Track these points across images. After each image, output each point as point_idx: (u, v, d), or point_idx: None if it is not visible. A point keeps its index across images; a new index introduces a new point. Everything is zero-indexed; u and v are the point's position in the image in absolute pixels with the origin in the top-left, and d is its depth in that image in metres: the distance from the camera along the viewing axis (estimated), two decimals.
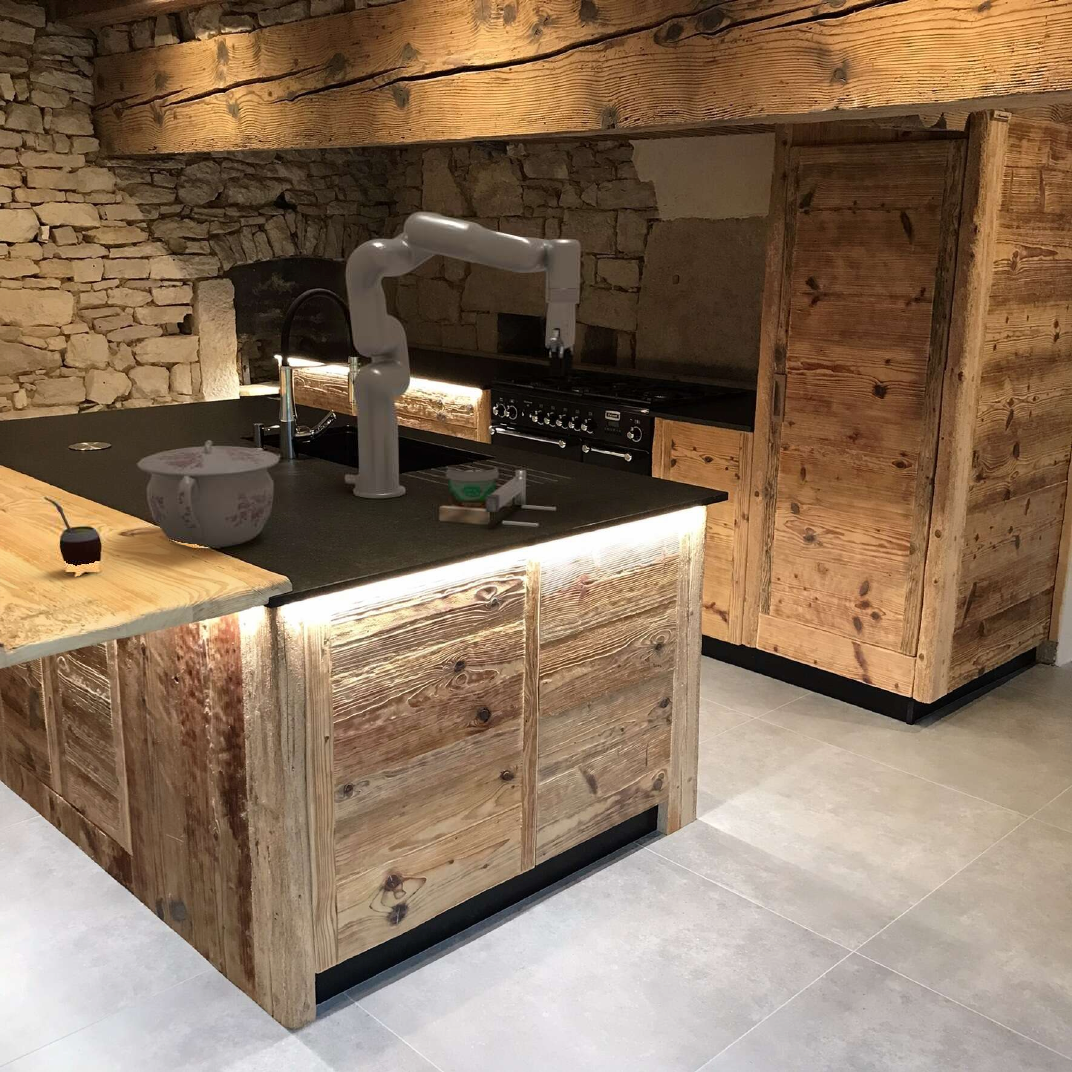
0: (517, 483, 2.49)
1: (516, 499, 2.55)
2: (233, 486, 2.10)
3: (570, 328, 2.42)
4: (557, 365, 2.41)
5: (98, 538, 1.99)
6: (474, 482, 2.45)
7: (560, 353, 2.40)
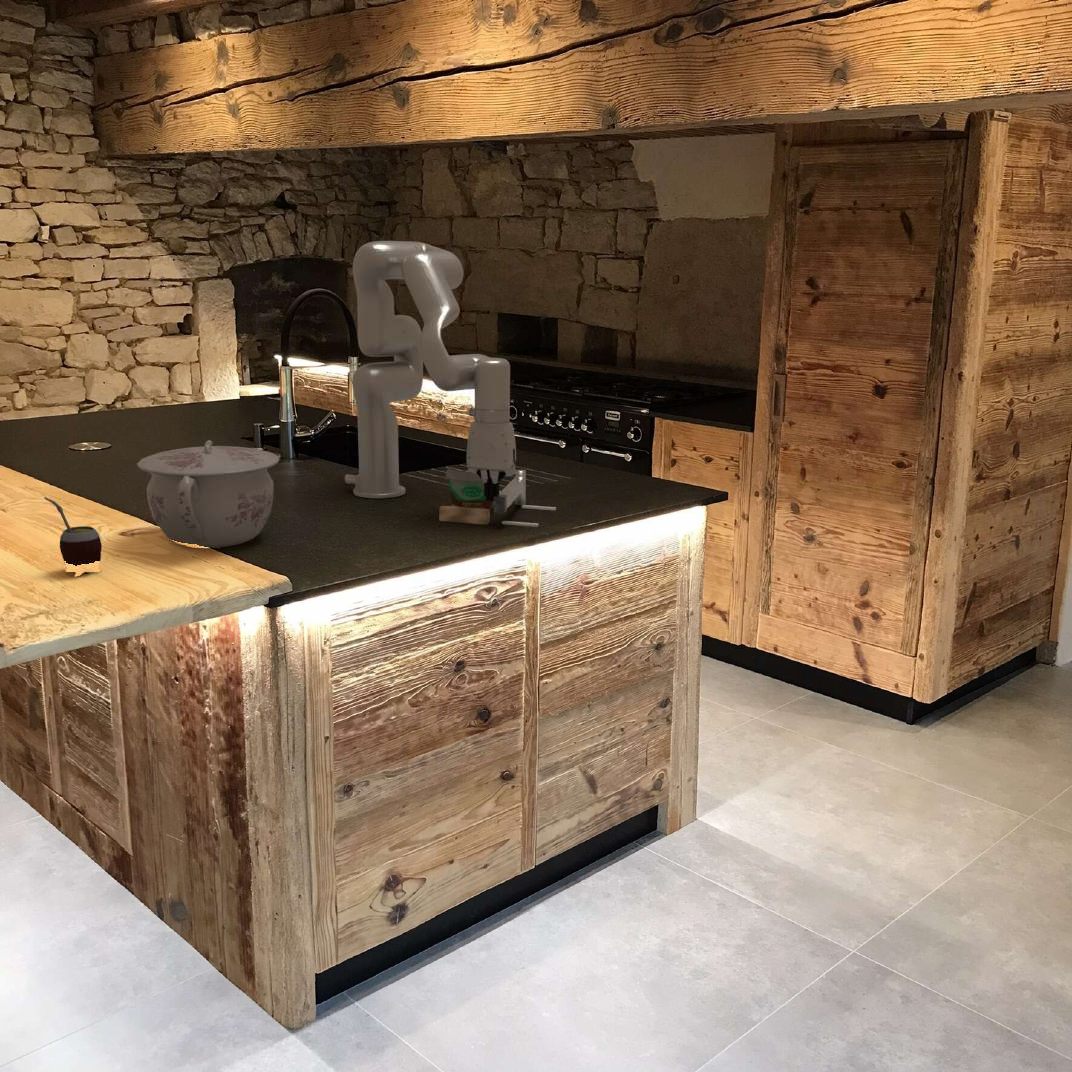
0: (519, 483, 2.49)
1: (516, 499, 2.55)
2: (233, 486, 2.10)
3: None
4: (498, 489, 2.38)
5: (98, 538, 1.99)
6: (474, 482, 2.45)
7: (501, 478, 2.38)
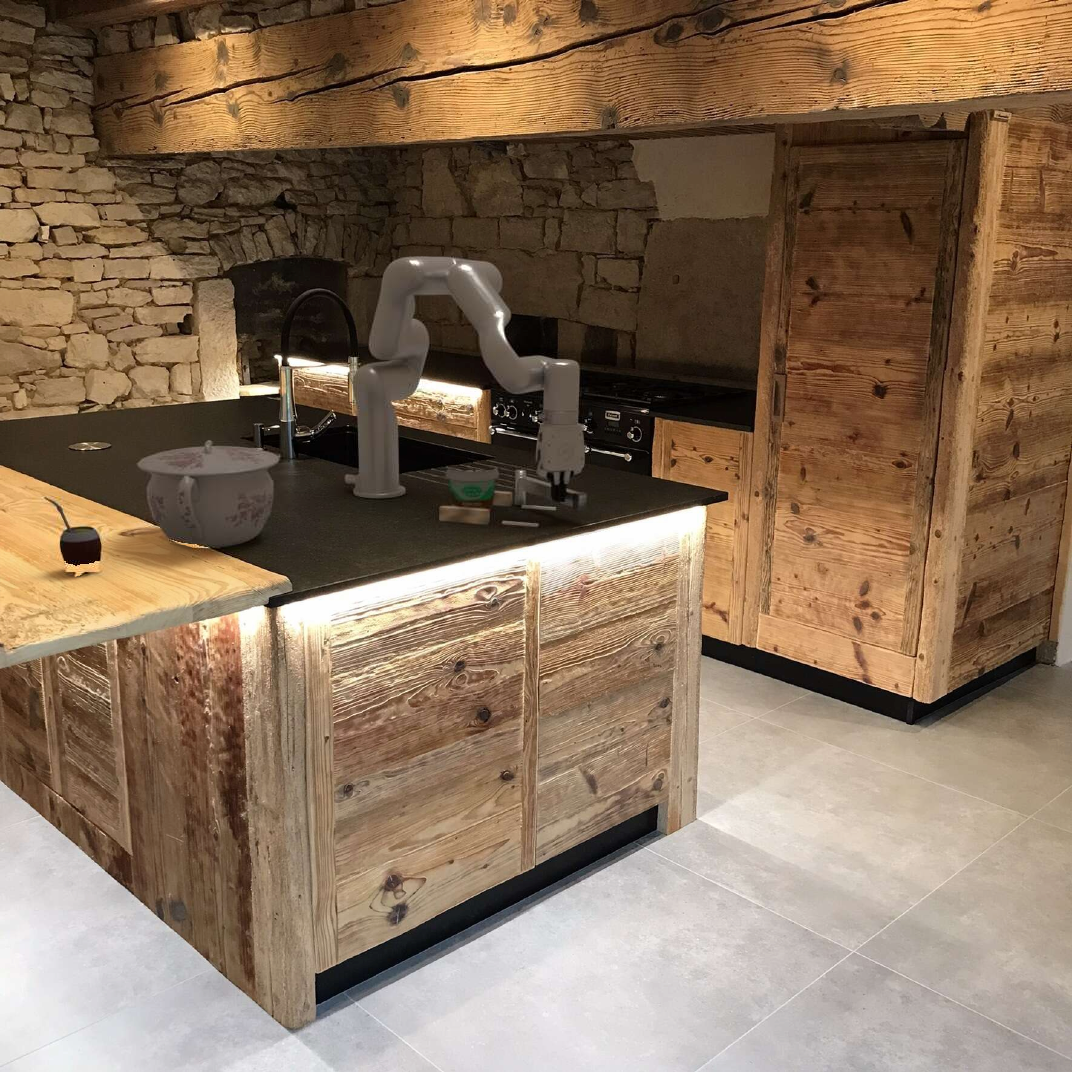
0: None
1: (520, 499, 2.55)
2: (233, 486, 2.10)
3: None
4: None
5: (98, 538, 1.99)
6: (474, 482, 2.45)
7: None
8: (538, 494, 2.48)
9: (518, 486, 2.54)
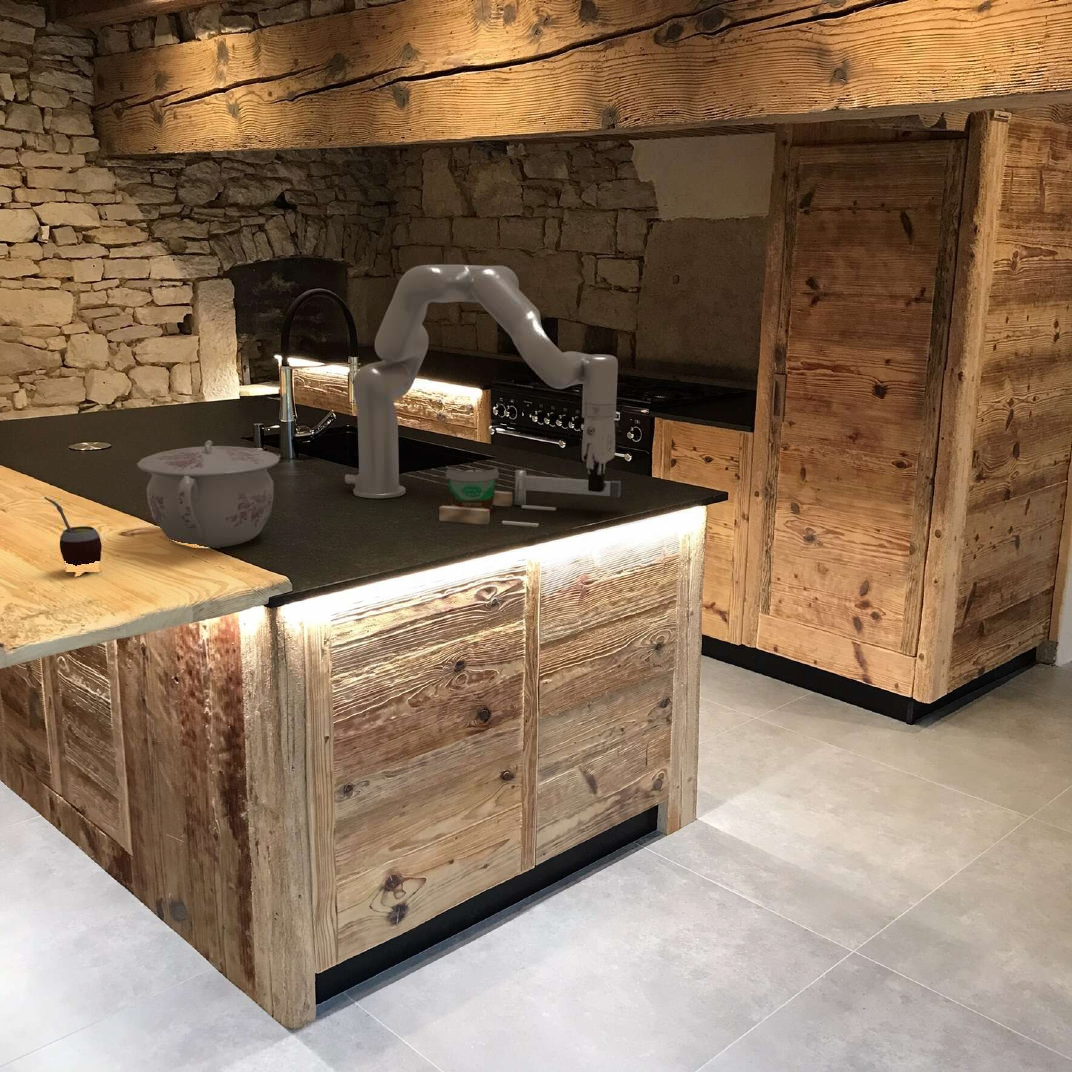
0: None
1: (523, 499, 2.55)
2: (233, 486, 2.10)
3: None
4: None
5: (98, 538, 1.99)
6: (474, 482, 2.45)
7: None
8: (554, 490, 2.52)
9: (522, 486, 2.54)
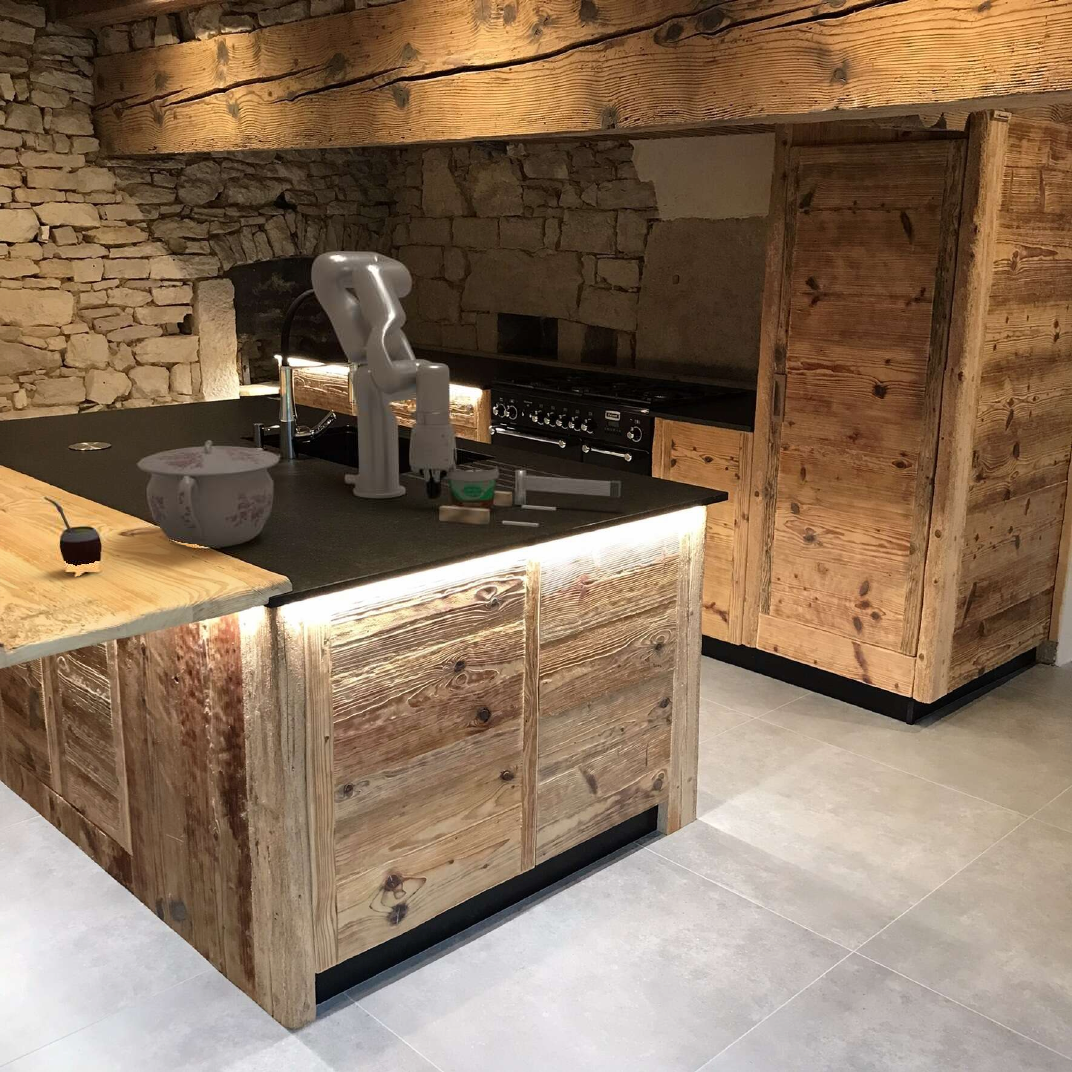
0: None
1: (523, 499, 2.55)
2: (233, 486, 2.10)
3: None
4: (440, 487, 2.50)
5: (98, 538, 1.99)
6: (474, 482, 2.45)
7: None
8: (554, 490, 2.52)
9: (522, 486, 2.54)
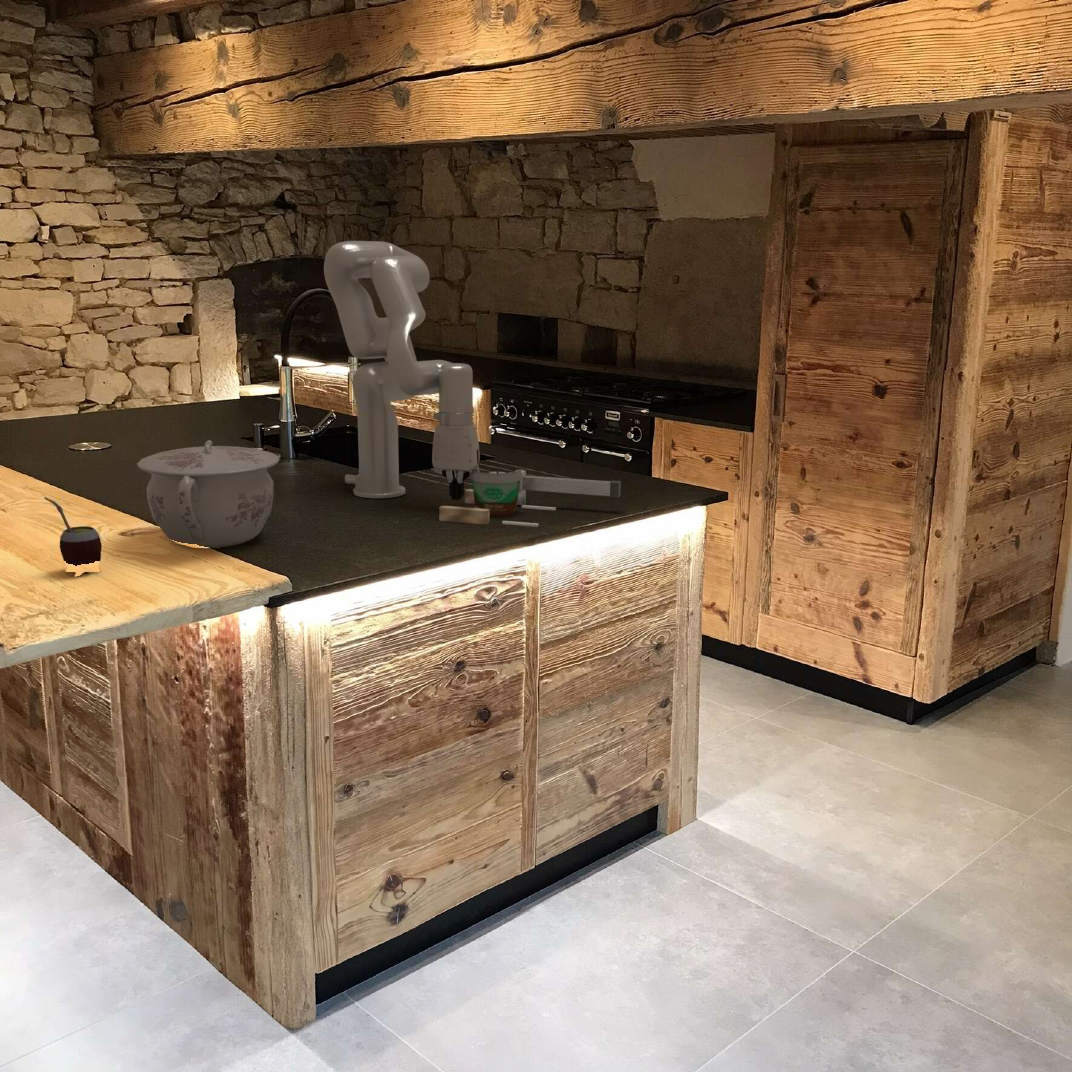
0: None
1: (523, 499, 2.55)
2: (233, 486, 2.10)
3: None
4: (463, 488, 2.49)
5: (98, 538, 1.99)
6: (495, 484, 2.43)
7: None
8: (554, 490, 2.52)
9: (522, 486, 2.54)
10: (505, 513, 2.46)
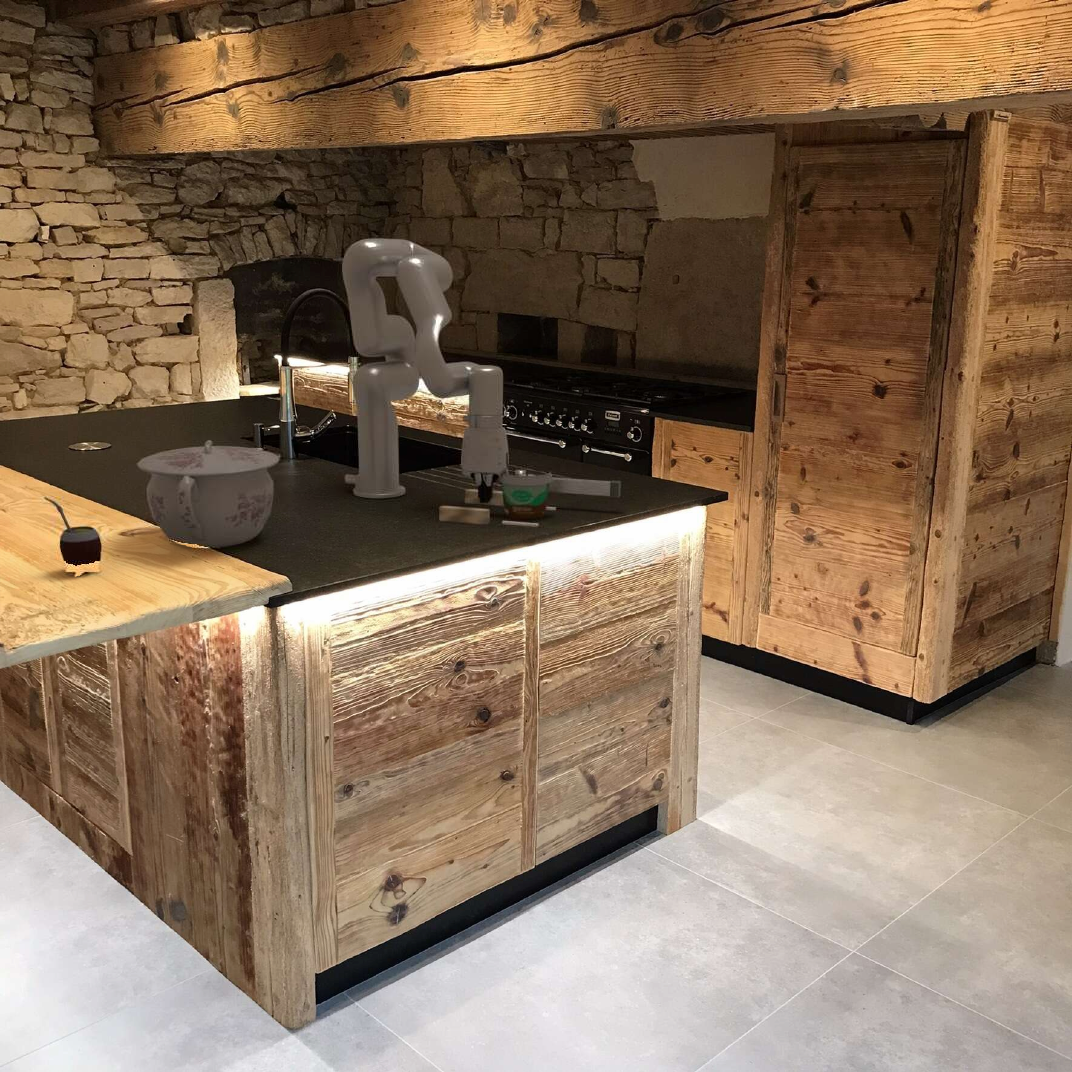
0: None
1: None
2: (233, 486, 2.10)
3: None
4: (492, 491, 2.47)
5: (98, 538, 1.99)
6: (524, 486, 2.41)
7: None
8: (554, 490, 2.52)
9: None
10: (533, 516, 2.44)
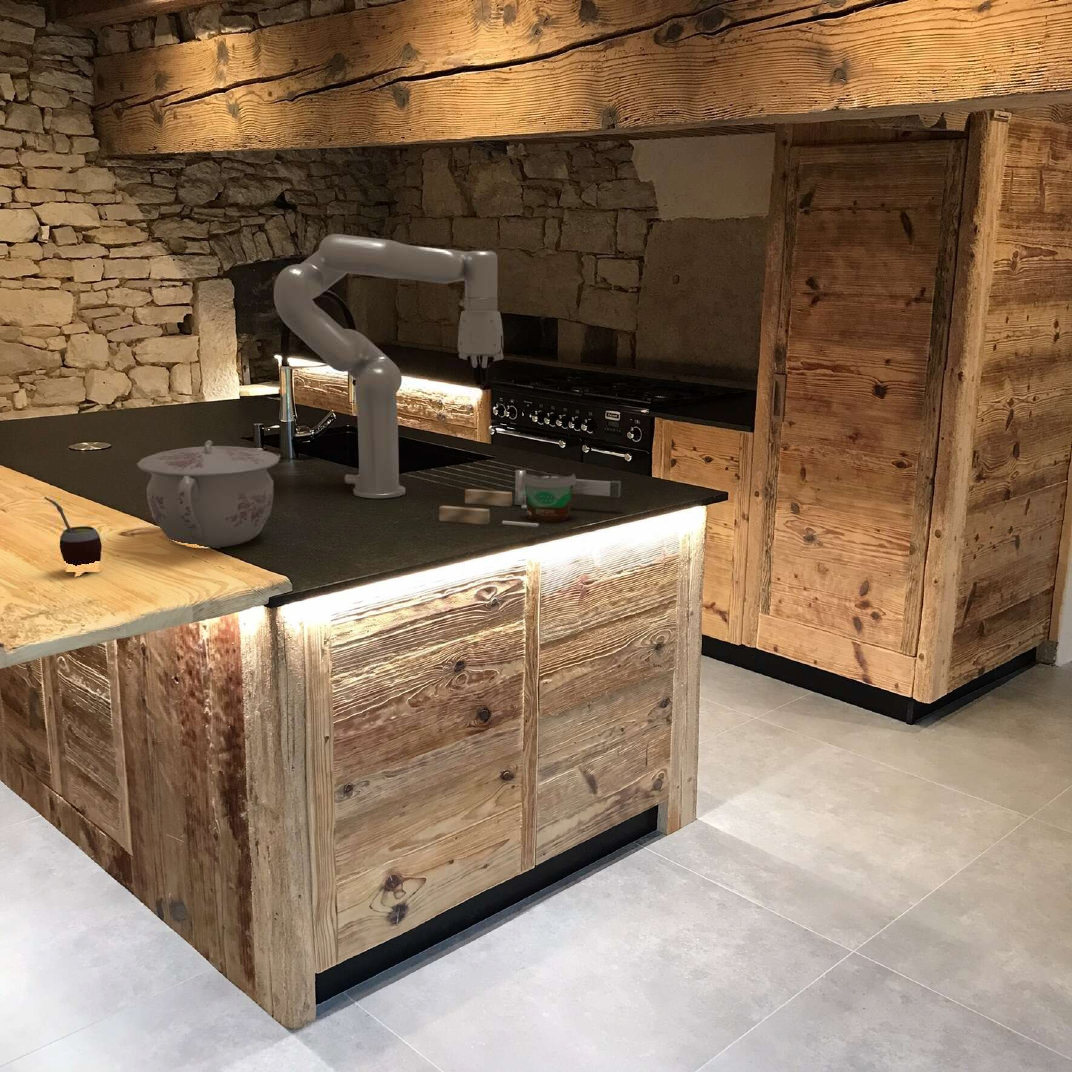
0: None
1: (523, 499, 2.55)
2: (233, 486, 2.10)
3: None
4: (487, 374, 2.58)
5: (98, 538, 1.99)
6: (547, 488, 2.40)
7: (489, 364, 2.58)
8: None
9: (522, 486, 2.54)
10: (556, 518, 2.42)
